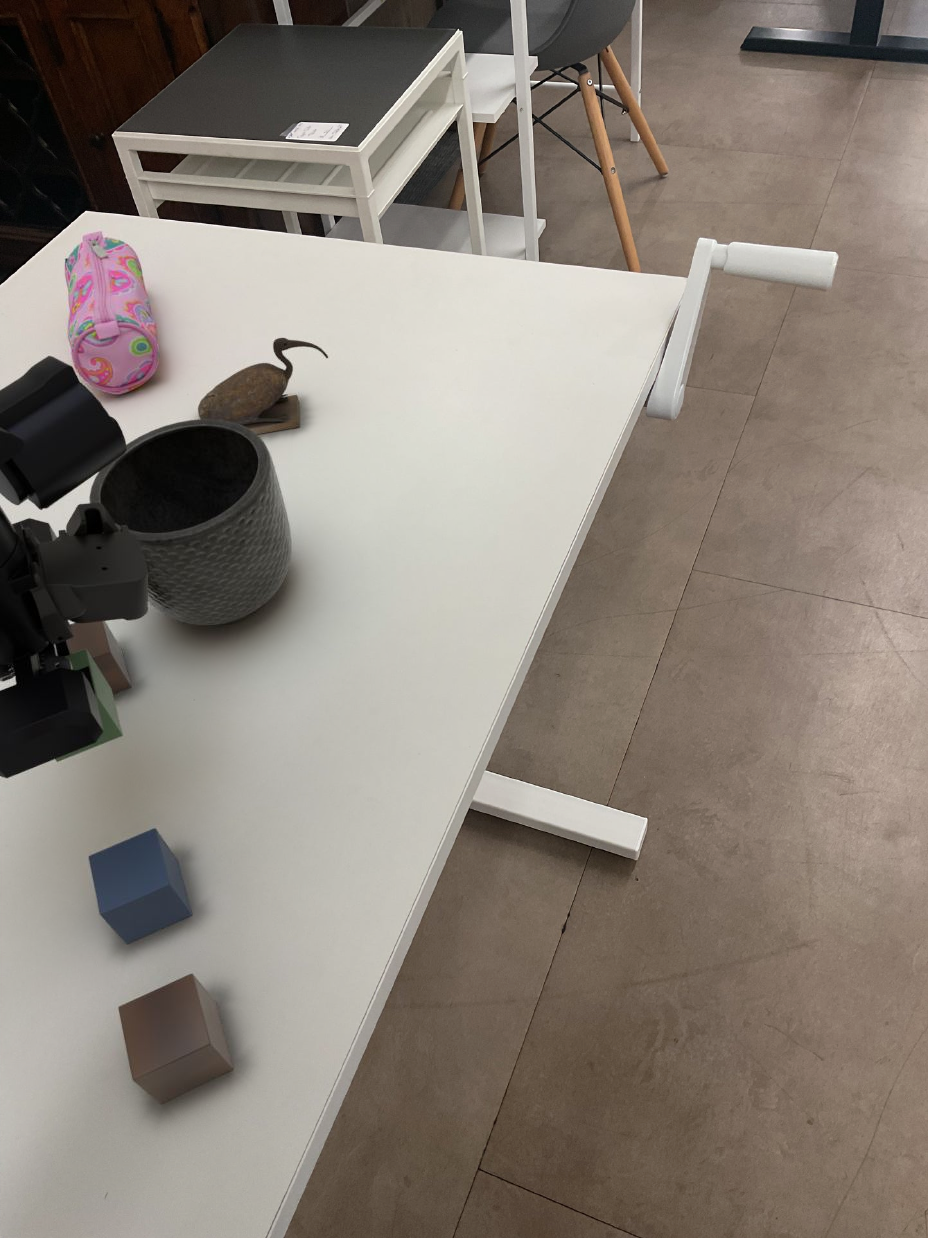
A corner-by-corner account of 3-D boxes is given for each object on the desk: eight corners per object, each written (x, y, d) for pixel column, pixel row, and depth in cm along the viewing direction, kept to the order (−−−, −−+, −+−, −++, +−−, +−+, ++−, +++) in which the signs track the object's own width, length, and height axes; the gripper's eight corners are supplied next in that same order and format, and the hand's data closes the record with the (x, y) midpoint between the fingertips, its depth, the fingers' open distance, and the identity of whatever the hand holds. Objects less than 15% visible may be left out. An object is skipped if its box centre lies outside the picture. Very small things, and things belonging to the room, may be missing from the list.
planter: (343, 564, 86) (307, 446, 76) (235, 679, 79) (181, 566, 69) (224, 514, 92) (177, 399, 82) (114, 617, 85) (49, 504, 75)
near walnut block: (160, 1104, 59) (132, 1081, 55) (145, 1033, 61) (117, 1006, 58) (234, 1069, 59) (210, 1044, 56) (215, 1000, 62) (192, 972, 59)
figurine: (340, 393, 102) (321, 318, 96) (342, 420, 99) (322, 344, 93) (204, 417, 102) (175, 343, 96) (202, 444, 99) (172, 371, 93)
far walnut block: (76, 709, 79) (51, 674, 76) (67, 669, 82) (43, 634, 78) (131, 687, 80) (110, 651, 76) (121, 648, 83) (100, 612, 79)
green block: (57, 762, 67) (27, 723, 63) (48, 713, 70) (19, 673, 66) (123, 736, 68) (97, 695, 64) (111, 688, 70) (86, 647, 67)
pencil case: (80, 308, 119) (47, 236, 113) (155, 288, 120) (128, 216, 114) (88, 410, 105) (51, 335, 99) (173, 386, 106) (143, 311, 100)
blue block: (126, 945, 65) (99, 915, 62) (114, 887, 68) (87, 856, 65) (193, 915, 66) (170, 884, 63) (177, 859, 69) (155, 827, 66)
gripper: (139, 609, 52) (227, 774, 63) (82, 415, 64) (165, 584, 75) (-81, 693, 50) (52, 847, 61) (-97, 476, 61) (17, 640, 73)
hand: (78, 716), depth 68 cm, fingers closed on green block, 4 cm apart
